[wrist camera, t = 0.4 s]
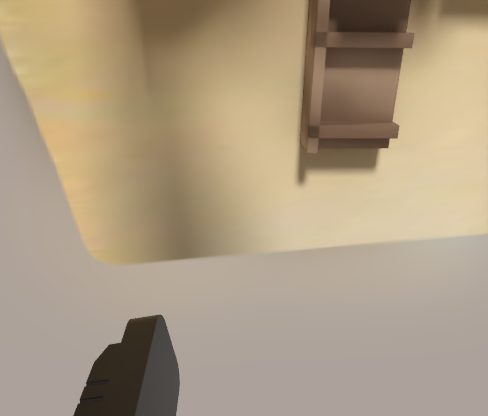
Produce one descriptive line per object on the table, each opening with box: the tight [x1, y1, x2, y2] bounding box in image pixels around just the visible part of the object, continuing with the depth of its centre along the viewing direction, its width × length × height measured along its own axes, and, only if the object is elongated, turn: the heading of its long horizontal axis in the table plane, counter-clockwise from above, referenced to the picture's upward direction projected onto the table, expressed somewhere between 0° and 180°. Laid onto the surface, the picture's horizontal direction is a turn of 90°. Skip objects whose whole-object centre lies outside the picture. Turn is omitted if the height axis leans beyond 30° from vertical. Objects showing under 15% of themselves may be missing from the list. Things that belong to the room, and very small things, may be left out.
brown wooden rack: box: [300, 0, 414, 153], centre depth 28 cm, size 20×7×8 cm, turn 179°
